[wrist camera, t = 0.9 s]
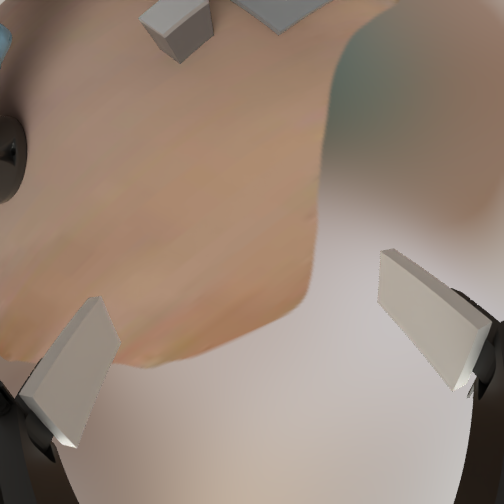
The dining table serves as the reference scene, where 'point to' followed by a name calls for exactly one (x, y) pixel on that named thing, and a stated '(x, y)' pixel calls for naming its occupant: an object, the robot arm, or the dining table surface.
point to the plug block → (179, 26)
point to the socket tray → (280, 11)
